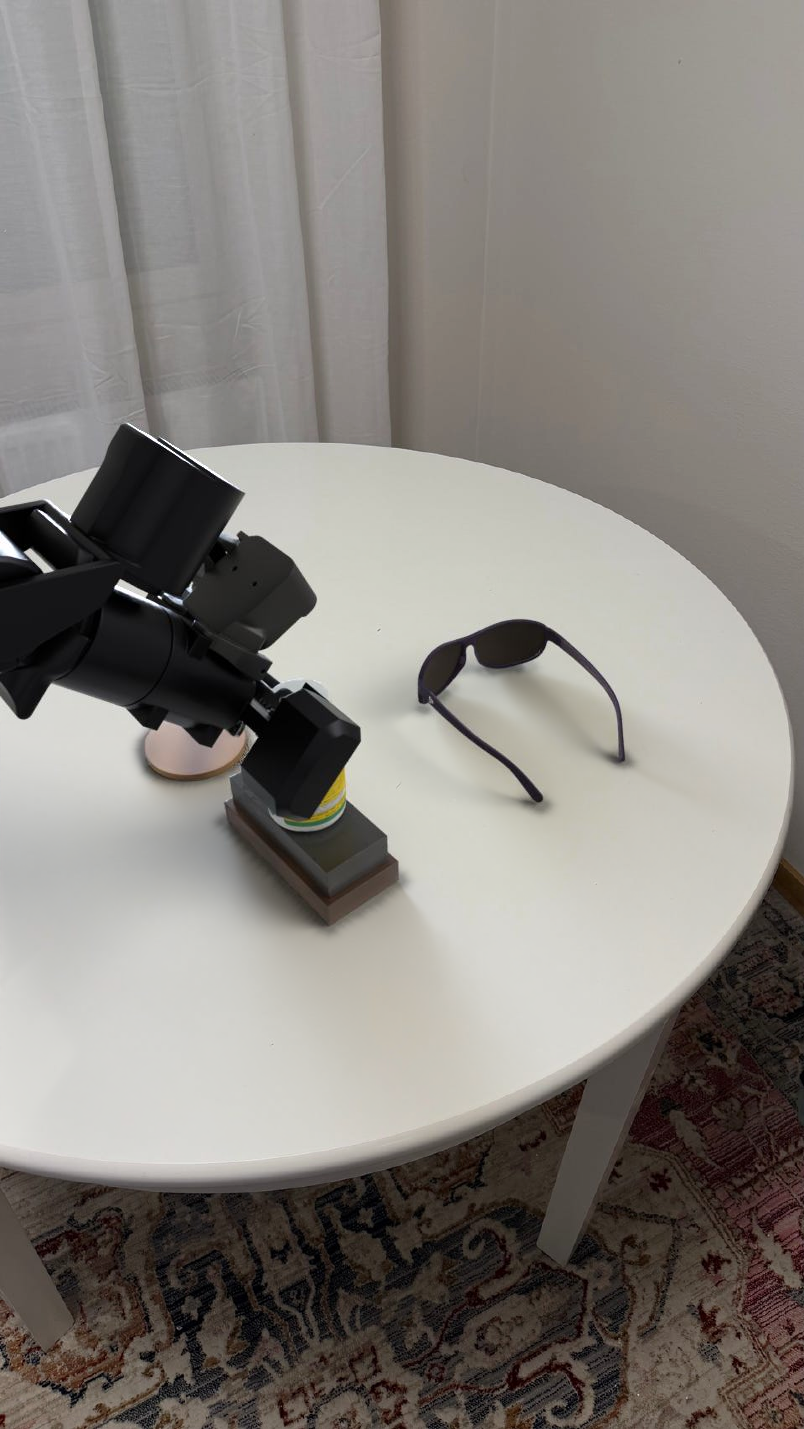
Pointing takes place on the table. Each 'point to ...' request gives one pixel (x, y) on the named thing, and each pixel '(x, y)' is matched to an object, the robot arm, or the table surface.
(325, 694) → the supplement bottle
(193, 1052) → the table surface
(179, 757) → the cork coaster
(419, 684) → the sunglasses
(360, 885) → the sharpening stone
